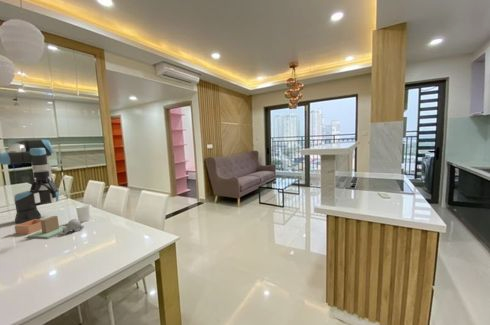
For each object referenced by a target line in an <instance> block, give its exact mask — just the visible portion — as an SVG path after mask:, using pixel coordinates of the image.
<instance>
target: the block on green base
mask: <svg viewBox="0 0 490 325" xmlns="http://www.w3.org/2000/svg"><path fill="white" fill-rule="evenodd" d="M58 217H59V216H58V215H53V216H49V217H46V218H43V220H40V221H41V227H42V230H39V231H36V232H34V233H31V234H27V237H35V238H50V237H52V236H54V235H57V234H59V233H60V232H63V228H62V227H67V225H59V218H58ZM59 235H60V234H59ZM57 236H58V235H57ZM54 237H55V236H54ZM52 238H53V237H52ZM50 239H51V238H50Z"/></svg>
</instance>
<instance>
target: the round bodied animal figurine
mask: <svg viewBox="0 0 490 325" xmlns="http://www.w3.org/2000/svg"><path fill="white" fill-rule="evenodd" d="M81 223H82V222H80V221H79V219H78V218H73V219H71V220H69V221H68V222H67V225H66V226H67V227H62V228H63V232H62V233H61V232H60V233H61V234H60V235H62V236H66V235H67V234H68V233H70V232H71V231H73V232H74V233H77V232H79V231H80V230H82V229H83V228H84V227H85V226H84V225H83V224H81Z"/></svg>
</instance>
